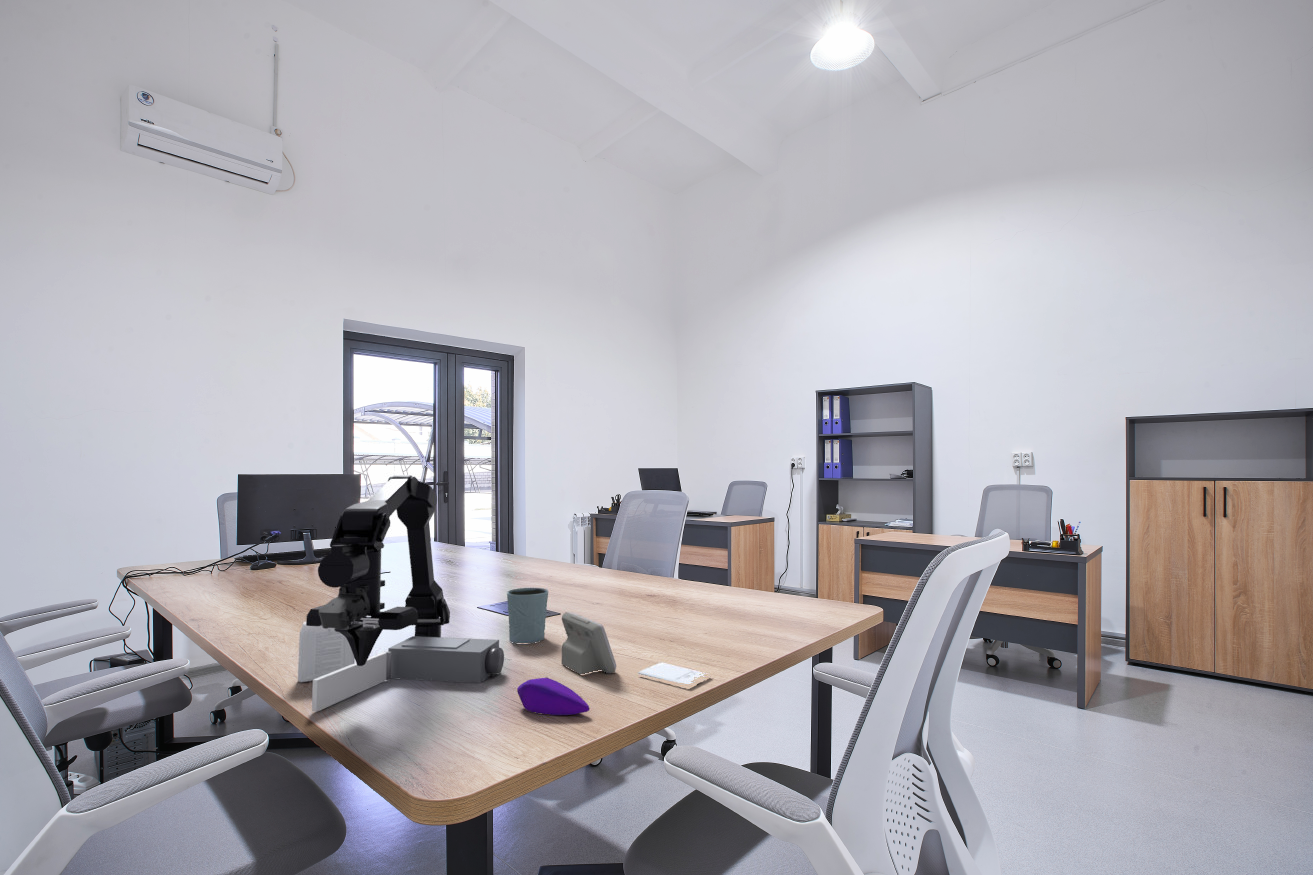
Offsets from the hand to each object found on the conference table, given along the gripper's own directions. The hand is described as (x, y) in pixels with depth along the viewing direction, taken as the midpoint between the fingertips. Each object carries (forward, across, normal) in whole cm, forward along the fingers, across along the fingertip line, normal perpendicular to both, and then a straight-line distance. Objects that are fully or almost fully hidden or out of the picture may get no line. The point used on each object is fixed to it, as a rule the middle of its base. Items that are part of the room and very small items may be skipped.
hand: (361, 665), depth 107 cm
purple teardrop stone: (+8, +34, +5) cm, 35 cm away
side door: (+7, -6, +5) cm, 11 cm away
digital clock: (+8, +33, +29) cm, 45 cm away
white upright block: (+8, -18, +14) cm, 24 cm away
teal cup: (+8, +12, +47) cm, 49 cm away
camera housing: (+8, +5, +20) cm, 22 cm away
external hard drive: (+8, +52, +26) cm, 59 cm away
